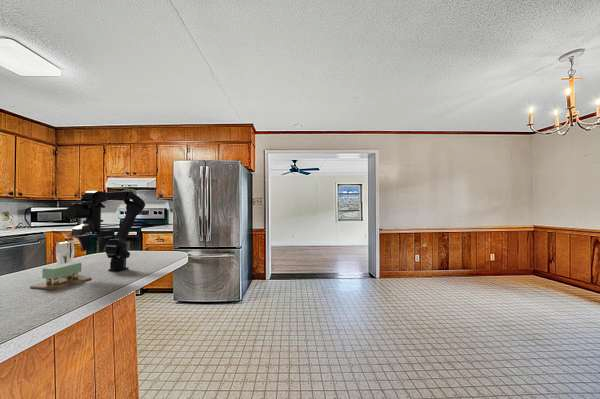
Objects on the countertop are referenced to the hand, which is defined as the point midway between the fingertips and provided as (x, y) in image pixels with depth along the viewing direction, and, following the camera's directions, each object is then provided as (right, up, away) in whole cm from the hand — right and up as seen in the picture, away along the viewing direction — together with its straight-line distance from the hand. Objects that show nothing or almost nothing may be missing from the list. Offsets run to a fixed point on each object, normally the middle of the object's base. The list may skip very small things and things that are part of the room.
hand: (92, 251), depth 129 cm
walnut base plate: (-5, -12, -10) cm, 17 cm away
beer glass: (-18, -12, +6) cm, 23 cm away
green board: (-5, -8, -10) cm, 14 cm away
